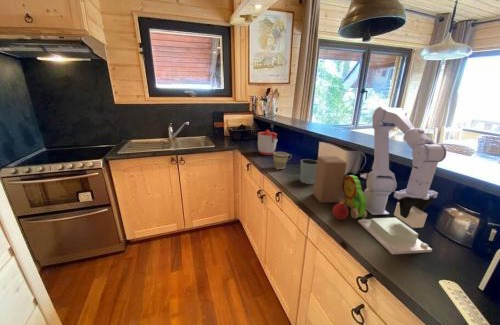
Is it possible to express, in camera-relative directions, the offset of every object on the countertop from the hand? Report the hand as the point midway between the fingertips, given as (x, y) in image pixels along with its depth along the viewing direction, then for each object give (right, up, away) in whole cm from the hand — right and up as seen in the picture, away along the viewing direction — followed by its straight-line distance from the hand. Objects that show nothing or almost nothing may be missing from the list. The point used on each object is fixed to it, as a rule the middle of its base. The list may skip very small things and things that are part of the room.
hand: (409, 216), depth 73 cm
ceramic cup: (-34, +15, +69) cm, 78 cm away
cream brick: (0, -2, +1) cm, 2 cm away
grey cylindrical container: (-22, +8, +49) cm, 54 cm away
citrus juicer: (-41, +26, +102) cm, 113 cm away
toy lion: (-11, -2, +19) cm, 23 cm away
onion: (-20, -4, +12) cm, 23 cm away
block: (-19, +1, +29) cm, 35 cm away
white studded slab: (-4, -8, +3) cm, 9 cm away
